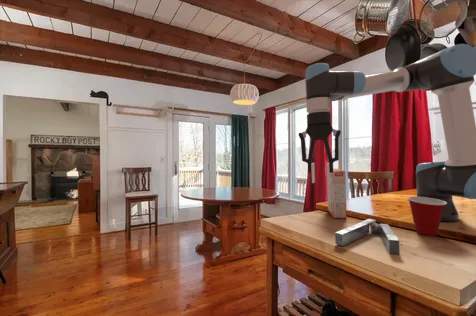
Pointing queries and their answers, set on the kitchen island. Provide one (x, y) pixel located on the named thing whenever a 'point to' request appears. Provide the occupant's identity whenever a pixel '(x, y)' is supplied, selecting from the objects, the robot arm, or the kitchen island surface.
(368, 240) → the kitchen island surface
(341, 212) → the cracker box
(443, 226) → the kitchen island surface
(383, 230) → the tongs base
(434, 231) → the plastic cup
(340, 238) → the bar
